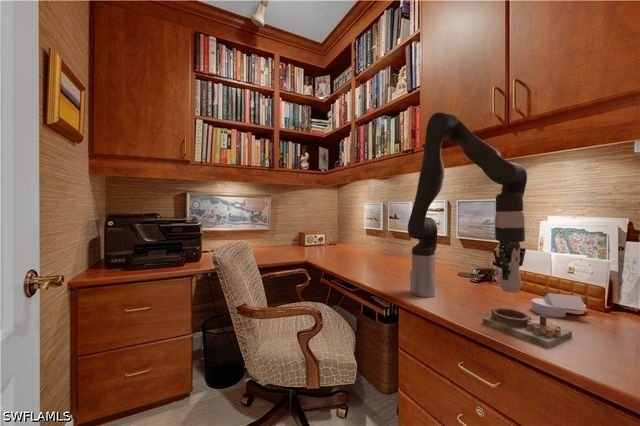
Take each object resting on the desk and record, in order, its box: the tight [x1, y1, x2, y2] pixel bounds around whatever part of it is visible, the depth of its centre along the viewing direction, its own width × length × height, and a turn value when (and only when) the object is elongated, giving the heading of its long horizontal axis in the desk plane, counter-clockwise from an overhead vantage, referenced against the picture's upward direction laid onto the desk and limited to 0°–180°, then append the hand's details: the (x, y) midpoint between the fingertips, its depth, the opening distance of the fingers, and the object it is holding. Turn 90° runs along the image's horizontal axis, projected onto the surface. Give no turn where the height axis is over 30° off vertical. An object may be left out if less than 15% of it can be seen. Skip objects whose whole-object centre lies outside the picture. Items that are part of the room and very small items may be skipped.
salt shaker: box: [498, 250, 523, 294], centre depth 81 cm, size 6×6×13 cm
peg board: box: [482, 307, 573, 349], centre depth 77 cm, size 17×13×6 cm
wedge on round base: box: [531, 292, 588, 318], centre depth 90 cm, size 9×7×13 cm
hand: (510, 280), depth 81 cm, fingers closed on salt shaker, 3 cm apart
